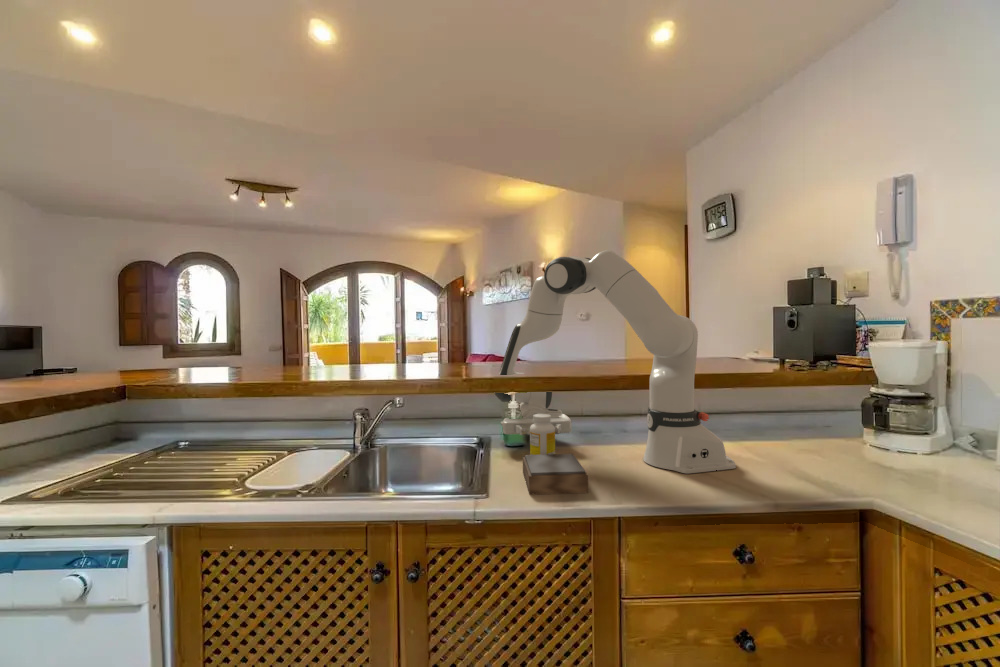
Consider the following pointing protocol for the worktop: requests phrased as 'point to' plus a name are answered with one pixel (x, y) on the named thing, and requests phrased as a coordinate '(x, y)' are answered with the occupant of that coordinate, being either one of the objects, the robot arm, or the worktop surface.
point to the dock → (554, 474)
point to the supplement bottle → (542, 435)
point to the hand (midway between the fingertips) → (540, 431)
